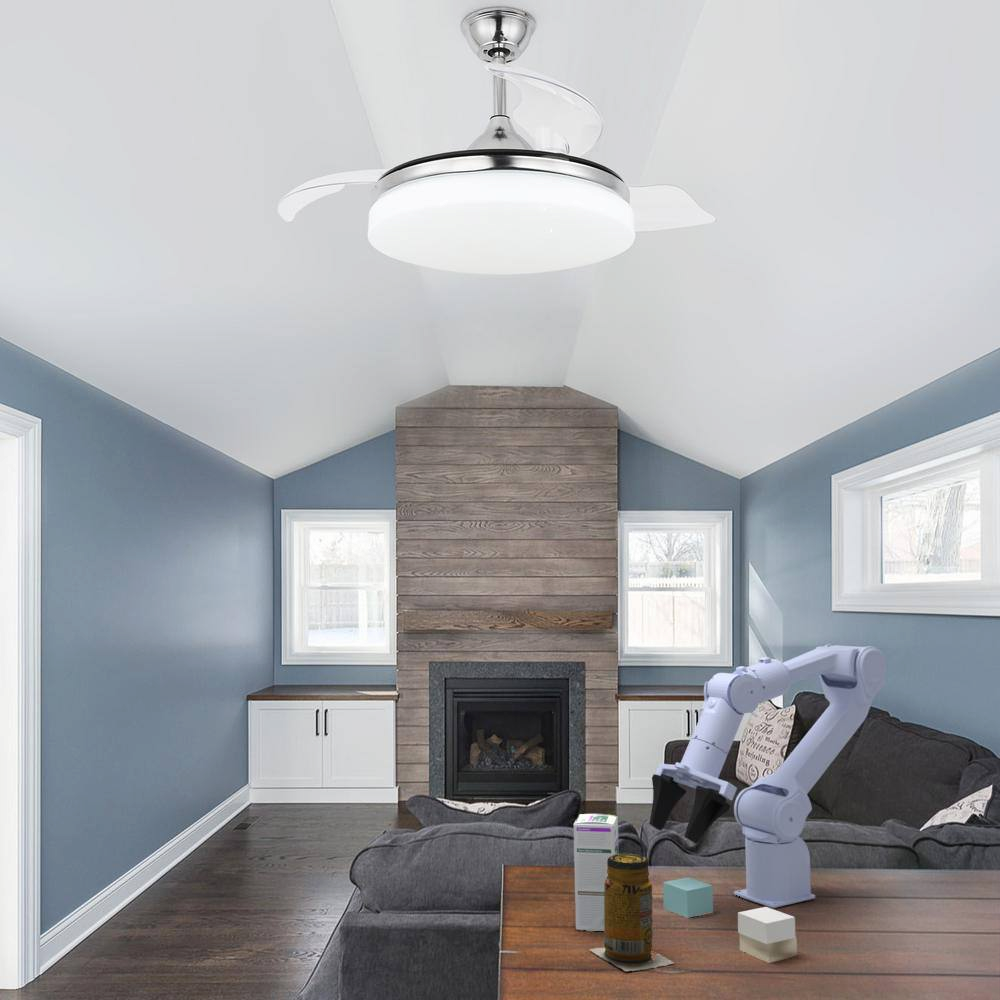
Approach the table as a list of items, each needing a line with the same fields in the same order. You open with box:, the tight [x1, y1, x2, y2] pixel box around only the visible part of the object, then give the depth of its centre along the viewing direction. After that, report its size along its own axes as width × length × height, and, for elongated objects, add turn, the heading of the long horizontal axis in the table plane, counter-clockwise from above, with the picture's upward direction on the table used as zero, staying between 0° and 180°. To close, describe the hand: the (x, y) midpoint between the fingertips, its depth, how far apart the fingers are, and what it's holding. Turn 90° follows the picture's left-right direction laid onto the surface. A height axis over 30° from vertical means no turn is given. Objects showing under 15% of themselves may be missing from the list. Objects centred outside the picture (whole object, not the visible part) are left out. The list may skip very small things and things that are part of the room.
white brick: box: [737, 906, 796, 944], centre depth 125 cm, size 5×5×2 cm
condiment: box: [589, 853, 675, 972], centre depth 124 cm, size 7×8×12 cm
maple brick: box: [738, 933, 798, 964], centre depth 125 cm, size 5×5×2 cm
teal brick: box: [662, 876, 714, 918], centre depth 142 cm, size 5×5×4 cm
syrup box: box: [573, 813, 620, 932], centre depth 136 cm, size 6×6×14 cm
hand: (672, 833), depth 141 cm, fingers open, 7 cm apart
